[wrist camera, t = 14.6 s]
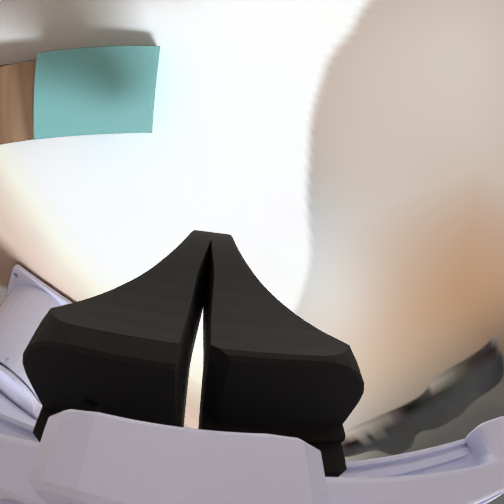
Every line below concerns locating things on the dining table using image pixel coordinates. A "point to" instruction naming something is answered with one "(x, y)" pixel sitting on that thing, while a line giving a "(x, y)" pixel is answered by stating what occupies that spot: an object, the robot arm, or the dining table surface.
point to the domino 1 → (17, 102)
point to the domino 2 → (95, 91)
